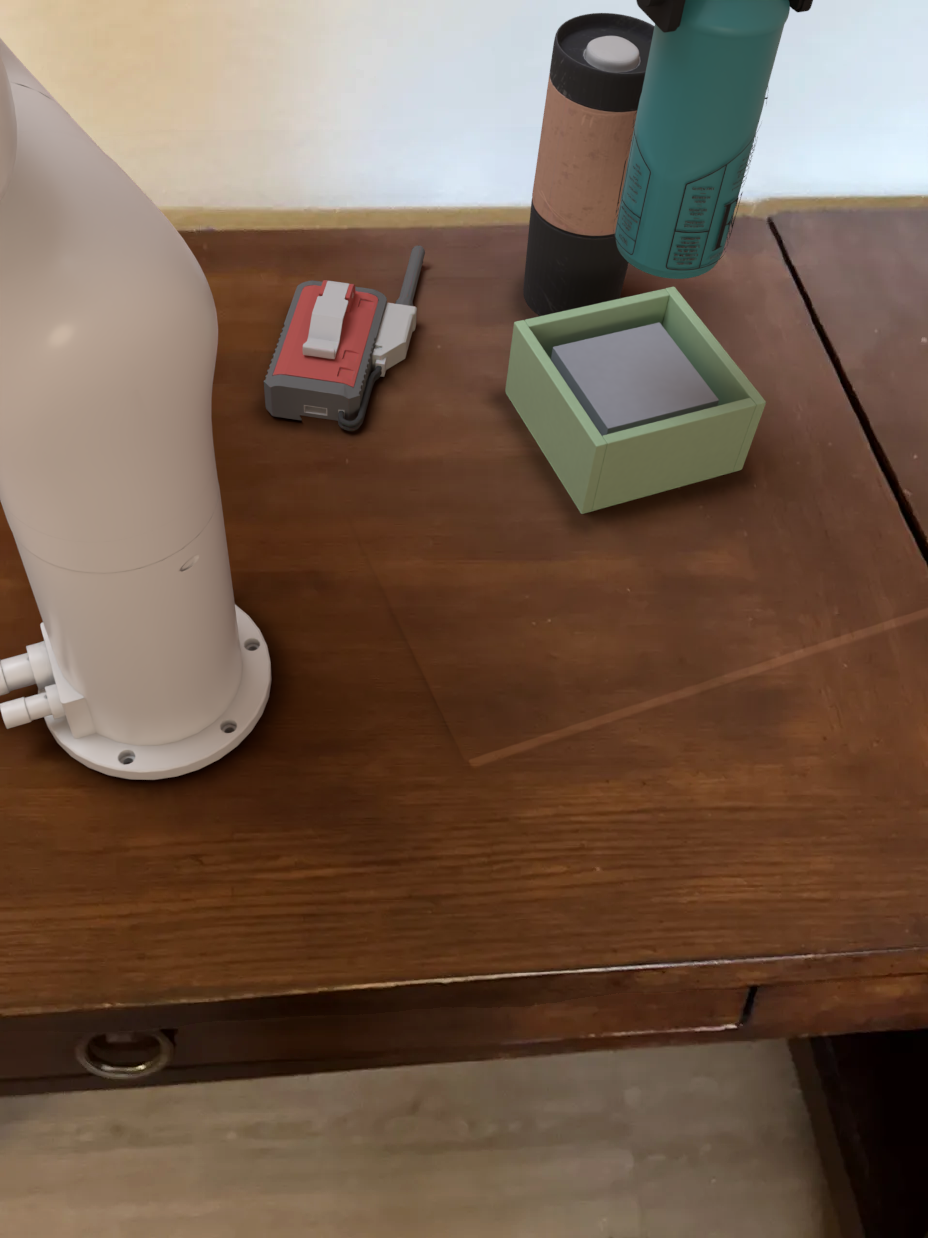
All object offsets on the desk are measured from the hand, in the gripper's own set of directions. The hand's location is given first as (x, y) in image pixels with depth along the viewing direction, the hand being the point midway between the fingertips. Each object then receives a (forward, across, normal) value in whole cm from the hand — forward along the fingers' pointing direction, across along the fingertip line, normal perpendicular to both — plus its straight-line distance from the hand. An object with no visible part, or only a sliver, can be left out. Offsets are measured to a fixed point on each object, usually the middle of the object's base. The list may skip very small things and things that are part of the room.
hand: (723, 4), depth 58 cm
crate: (+30, -1, -1) cm, 30 cm away
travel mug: (+30, -4, -15) cm, 34 cm away
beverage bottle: (+15, 0, 0) cm, 15 cm away
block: (+29, -1, -1) cm, 29 cm away
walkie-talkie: (+30, +13, -16) cm, 37 cm away
